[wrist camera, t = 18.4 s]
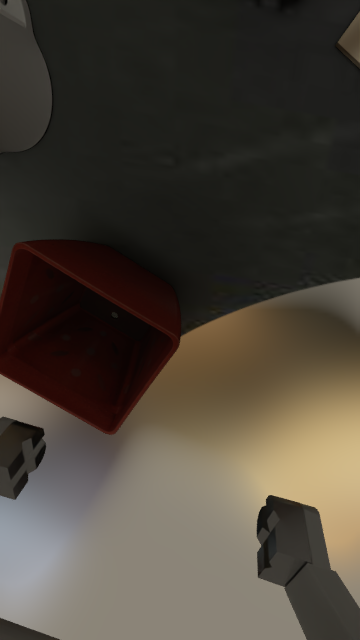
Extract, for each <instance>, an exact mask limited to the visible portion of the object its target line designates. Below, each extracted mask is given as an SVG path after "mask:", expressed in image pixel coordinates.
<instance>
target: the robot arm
mask: <svg viewBox="0 0 360 640" xmlns="http://www.w3.org/2000/svg"><path fill="white" fill-rule="evenodd" d="M51 110H52V89H51V82H50V77H49V73H48V69H47V66H46V63H45V60H44V58H43V55H42V53H41V51H40V49H39V47H38V45H37V42H36V40H35V37H34V34H33V29H32V23H31V17H30V12H29V8H28V4H27V2H26V0H8V3H7V5H6V4H5V0H0V153H3V152H21V151H25V150H27V149H29V148H31V147H33V146H34V145H35V144H36V143H37V142H38V141H39V140H40V139H41V138H42V136H43V135H44V133H45V131H46V129H47V127H48V124H49V120H50V116H51ZM43 436H44V429H43V428H40V427H36V426H33V425H29V424H26V423H23V422H19V421H17V420H13V419H10V418H6V417H2V418H0V495H1V496H4V497H7V498H11V499H16V498H17V496H18V495H19V494H20V492H21V491H22V489H23V488H24V486H25V485H26V483H27V482H28V474H29V473H30V472H32V471H34V470H35V469H37V467H38V466H39V464H40V463H41V461H42V459H43V456H44V454H45V450H46V443H45V441H44V440H43V439H42V437H43ZM257 538H258V540H259V542H260V544H261V548H260V549H259V551H258V552H257V562H258V578H261V579H264V580H267V581H269V582H272V583H275V584H278V585H281V586H283V587H285V591H286V593H287V596H288V598H289V600H290V602H291V605H292V607H293V609H294V611H295V614H296V616H297V618H298V620H299V623H300V625H301V627H302V630H303V632H304V634H305V636H306V639H307V640H360V608H359V607H358V605H357V603H356V602H355V600H354V599H353V597H352V596H351V594H350V593H349V591H348V590H347V588H346V586H345V585H344V584H343V582H342V580H341V579H340V577H339V576H338V574H337V573H336V571H333V570H331V568H330V563H329V559H328V554H327V548H326V544H325V539H324V534H323V529H322V524H321V519H320V514H319V512H318V511H317V509H316V508H315V507H311V506H308V505H304V504H301V503H298V502H295V501H291V500H287V499H284V498H279V497H276V496H272V495H269V496H268V497H267V499H266V506H263V507H262V508H261V510H260V512H259V515H258V520H257ZM0 640H59V639H57V638H54V637H51V636H49V635H46V634H43V633H40V632H37V631H35V630H32V629H29V628H26V627H24V626H21V625H18V624H15V623H13V622H10V621H7V620H4V619H1V618H0Z"/></svg>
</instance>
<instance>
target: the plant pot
mask: <svg viewBox="0 0 360 640" xmlns="http://www.w3.org/2000/svg"><path fill="white" fill-rule="evenodd" d="M112 312H116V313H117V314H118V318H117V319H114V318H112V317H111V313H112ZM180 337H181V313H180V306H179V302H178V299H177V296H176V293H175V291H174V289H173V288H172V286H171V285H169V284H168V283H166V282H165V281H163V280H162V279H160V278H158V277H157V276H155V275H154V274H152V273H150V272H149V271H147V270H146V269H144V268H142V267H141V266H139V265H138V264H136V263H135V262H133V261H131V260H130V259H128V258H127V257H125V256H123V255H122V254H120V253H119V252H117V251H115V250H114V249H112V248H111V247H109V246H105V245H102V244H97V243H92V242H85V241H77V240H34V241H26V242H19V243H16V244H15V245H14V246H13V249H12V253H11V257H10V261H9V266H8V270H7V274H6V278H5V282H4V286H3V290H2V294H1V298H0V374H1V375H3V376H5V377H7V378H8V379H10V380H12V381H14V382H15V383H17V384H19V385H21V386H23V387H24V388H26V389H28V390H30V391H32V392H33V393H35V394H37V395H39V396H40V397H42V398H44V399H46V400H47V401H49V402H51V403H53V404H54V405H56V406H58V407H60V408H61V409H63V410H65V411H67V412H68V413H70V414H72V415H74V416H75V417H77V418H79V419H81V420H82V421H84V422H86V423H88V424H90V425H91V426H93V427H95V428H96V429H98V430H100V431H102V432H104V433H105V434H109V435H112V434H115V433H116V432H117V431H118V429H119V428H120V427H121V425H122V424H123V422H124V421H125V419H126V418H127V416H128V415H129V414H130V412H131V411H132V410H133V408H134V407H135V405H136V404H137V403H138V401H139V400H140V398H141V397H142V396H143V394H144V393H145V391H146V390H147V389H148V388H149V386H150V385H151V383H152V382H153V381H154V380H155V378H156V377H157V376H158V374H159V373H160V372H161V370H162V369H163V367H164V366H165V365H166V364H167V362H168V361H169V360H170V358H171V357H172V356H173V354H174V353H175V352H176V350H177V349H178V347H179V343H180Z"/></svg>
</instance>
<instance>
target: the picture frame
mask: <svg viewBox="0 0 360 640" xmlns="http://www.w3.org/2000/svg"><path fill="white" fill-rule="evenodd" d="M335 46H336V47H337V48H338V49H339V50H340V51H341V52H342V53H343V54H344V55H345V56H347V57H348V58H349V59H350V60H351V61H352V62H353V63H354V64H355V65H356V66H357V67H358V68H359V69H360V12H359V13H358V15H357V16H356V17H355V19H354V20H353V22H352V23H351V24H350V26H349V27H348V29H347V30H346V31H345V33H344V34H343V35H342V37H341V38H340V40H339V41H338V42H337V44H336V45H335Z"/></svg>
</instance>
